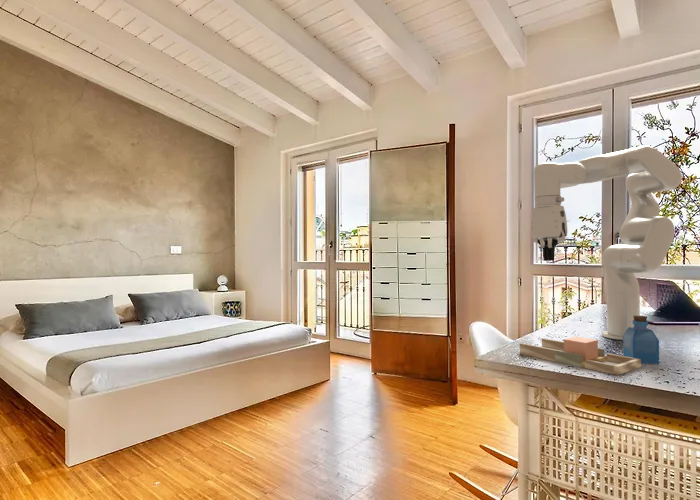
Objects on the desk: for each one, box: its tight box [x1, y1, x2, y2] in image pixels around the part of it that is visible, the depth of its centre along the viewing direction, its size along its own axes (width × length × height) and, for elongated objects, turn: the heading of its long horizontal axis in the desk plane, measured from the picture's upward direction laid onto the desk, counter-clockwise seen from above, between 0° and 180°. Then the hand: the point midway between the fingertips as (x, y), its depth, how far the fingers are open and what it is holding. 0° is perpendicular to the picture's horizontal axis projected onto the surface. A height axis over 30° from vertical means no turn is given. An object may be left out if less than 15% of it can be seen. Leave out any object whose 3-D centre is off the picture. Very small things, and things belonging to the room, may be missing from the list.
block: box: [563, 336, 599, 362], centre depth 117 cm, size 6×6×6 cm
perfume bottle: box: [622, 315, 660, 365], centre depth 117 cm, size 6×6×12 cm
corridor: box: [519, 337, 642, 376], centre depth 119 cm, size 12×27×3 cm, turn 33°
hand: (548, 260), depth 137 cm, fingers closed
